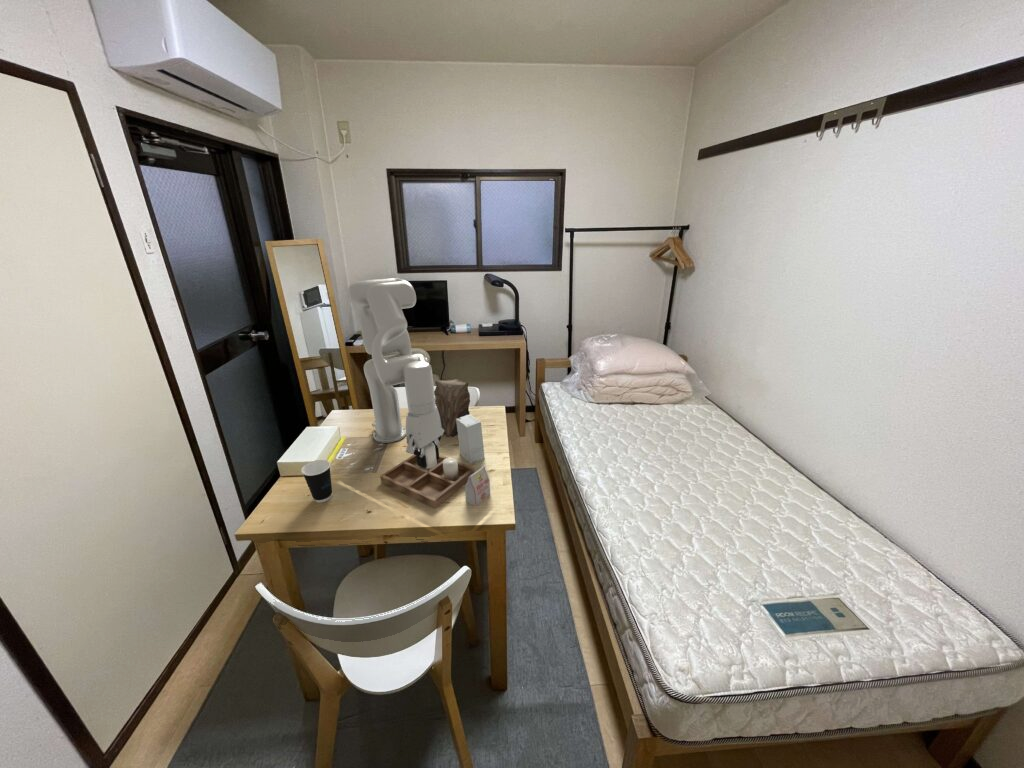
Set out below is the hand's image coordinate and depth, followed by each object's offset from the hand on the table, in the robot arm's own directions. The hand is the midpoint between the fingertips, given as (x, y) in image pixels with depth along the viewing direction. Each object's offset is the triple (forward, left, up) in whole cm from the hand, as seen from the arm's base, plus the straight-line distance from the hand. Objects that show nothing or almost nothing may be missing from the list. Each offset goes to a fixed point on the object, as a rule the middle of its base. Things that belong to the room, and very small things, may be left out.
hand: (428, 461), depth 119 cm
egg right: (0, +9, -11) cm, 14 cm away
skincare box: (-3, +23, -12) cm, 26 cm away
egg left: (-11, +9, -11) cm, 18 cm away
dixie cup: (-28, -18, -12) cm, 35 cm away
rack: (-6, +5, -12) cm, 14 cm away
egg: (0, 0, -1) cm, 1 cm away
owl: (-22, +34, -12) cm, 42 cm away
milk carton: (+13, +6, -12) cm, 19 cm away
